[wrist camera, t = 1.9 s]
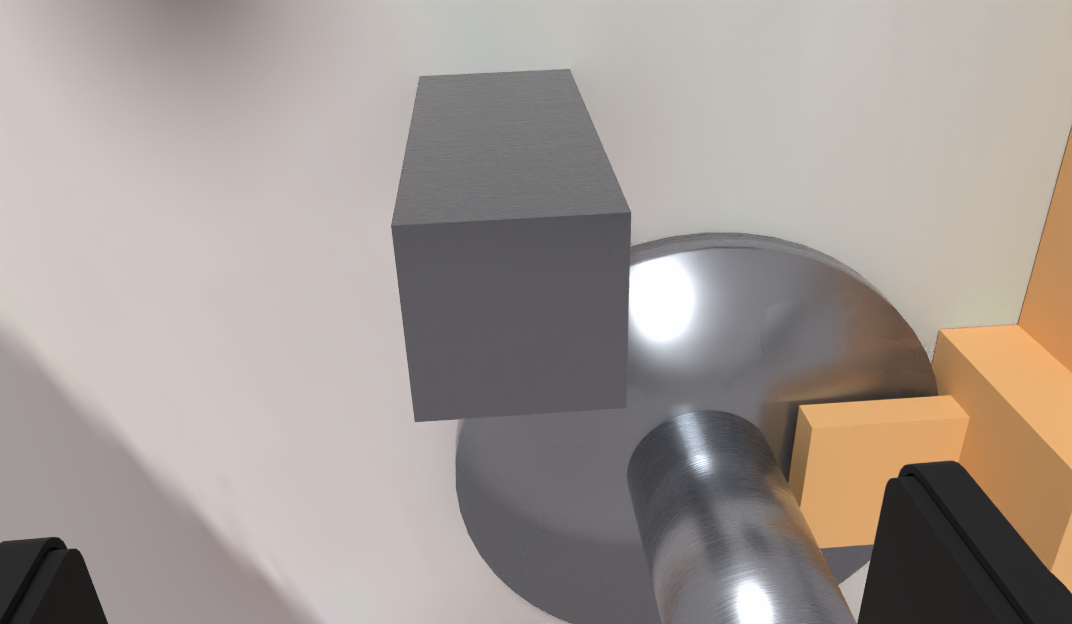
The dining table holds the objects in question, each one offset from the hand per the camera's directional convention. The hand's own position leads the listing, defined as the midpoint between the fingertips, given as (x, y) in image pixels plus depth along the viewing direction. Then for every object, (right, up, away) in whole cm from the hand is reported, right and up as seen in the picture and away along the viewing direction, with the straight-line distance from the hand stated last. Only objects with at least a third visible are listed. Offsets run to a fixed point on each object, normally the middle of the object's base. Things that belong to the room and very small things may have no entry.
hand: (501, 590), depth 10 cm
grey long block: (-1, +8, +14) cm, 16 cm away
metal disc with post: (+6, -1, +20) cm, 20 cm away
